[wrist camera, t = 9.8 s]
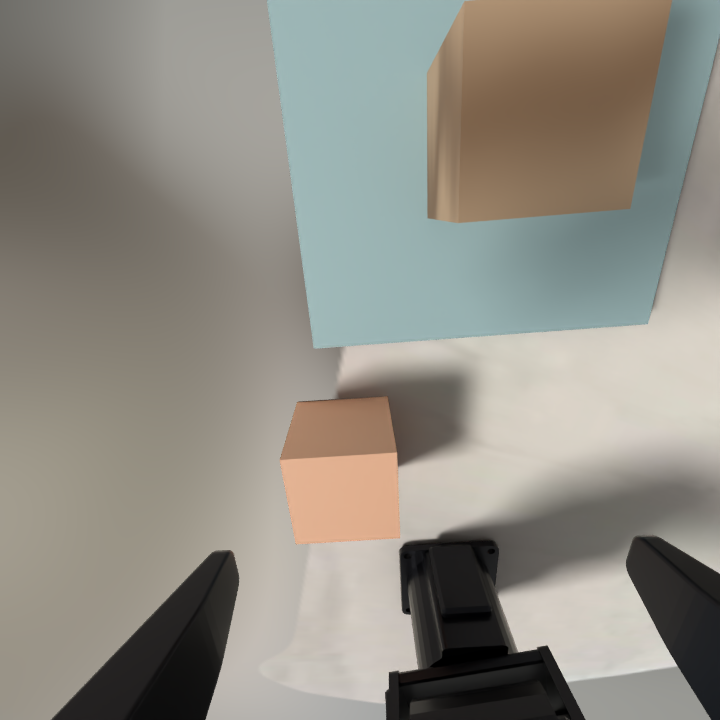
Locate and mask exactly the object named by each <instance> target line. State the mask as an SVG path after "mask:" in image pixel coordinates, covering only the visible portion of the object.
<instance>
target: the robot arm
mask: <svg viewBox="0 0 720 720" xmlns="http://www.w3.org/2000/svg"><path fill="white" fill-rule="evenodd" d="M498 554H499V549H498V546H497V544H496V543H495V542H494V541H476V542H459V543H443V544H427V545H410V546H403V547H401V549H400V550H399V557H400V579H401V601H402V611H403V613H404V614H409V615H410V614H411V619H412V626H413V634H414V641H415V649H416V656H417V664H418V670H412V671H406V672H400V673H399V671H393V672H389V689H388V690H387V691H386V692H385V699H386V720H585V718H584V716H583V714H582V712H581V710H580V708H579V706H578V705H577V702H576V700H575V698H574V697H573V694H572V693H571V691H570V689H569V687H568V685H567V683H566V681H565V679H564V677H563V675H562V673H561V671H560V669H559V667H558V665H557V663H556V661H555V659H554V657H553V655H552V653H551V651H550V649H549V647H548V646H541V647H537V649H536V650H530V651H524V652H519V653H518V650H517V648H516V645H515V642H514V639H513V637H512V634H511V631H510V628H509V626H508V623H507V620H506V617H505V615H504V612H503V609H502V606H501V604H500V601H499V598H498V595H497V593H496V590H495V582H496V573H497V563H498ZM626 568H627V571H628V574H629V576H630V578H631V580H632V582H633V584H634V586H635V588H636V590H637V591H638V593H639V595H640V597H641V599H642V601H643V603H644V605H645V607H646V609H647V611H648V613H649V615H650V616H651V618H652V620H653V622H654V624H655V626H656V628H657V630H658V632H659V634H660V636H661V638H662V639H663V641H664V643H665V645H666V647H667V649H668V650H669V652H670V654H671V655H672V657H673V659H674V660H675V662H676V664H677V665H678V667H679V669H680V670H681V672H682V673H683V675H684V677H685V678H686V680H687V682H688V683H689V685H690V686H691V688H692V689H693V691H694V693H695V694H696V696H697V698H698V699H699V701H700V702H701V704H702V705H703V707H704V709H705V710H706V712H707V714H708V715H709V717H710V718H711V720H720V574H719V573H718V572H716V571H714V570H713V569H711V568H709V567H708V566H706V565H704V564H703V563H701V562H699V561H698V560H696V559H694V558H693V557H691V556H689V555H688V554H686V553H685V552H683V551H681V550H680V549H678V548H676V547H675V546H673V545H671V544H670V543H668V542H666V541H665V540H663V539H661V538H659V537H657V536H654V535H643V536H636V537H634V538H633V540H632V543H631V546H630V550H629V553H628V556H627V559H626ZM238 586H239V573H238V569H237V565H236V561H235V557H234V554H233V552H232V551H231V550H218V551H214V552H212V553H211V554H210V555H209V556H208V557H207V558H206V559H205V560H204V561H203V562H202V563H201V564H200V565H199V567H197V569H196V570H195V571H194V572H193V573H192V574H191V575H190V576H189V577H188V578H187V579H186V580H185V581H184V582H183V583H182V584H181V585H180V586H179V587H178V589H176V590H175V591H174V592H173V593H172V594H171V595H170V597H169V598H168V599H167V600H166V601H165V602H164V603H163V604H162V605H161V606H160V607H159V608H158V609H157V610H156V611H155V612H154V613H153V614H152V615H151V616H150V617H149V618H148V619H147V620H146V621H145V622H144V624H143V625H142V626H141V627H140V628H139V629H138V630H137V631H136V632H135V633H134V634H133V635H132V636H131V637H130V638H129V639H128V640H127V641H126V642H125V643H124V644H123V645H122V646H121V648H119V650H118V651H117V652H116V653H115V654H114V655H113V656H112V657H111V658H110V659H109V660H108V661H107V662H106V663H105V664H104V665H103V666H102V667H101V668H100V669H99V670H98V672H97V673H95V674H94V676H93V677H92V678H91V679H90V680H89V681H88V682H87V683H86V684H85V685H84V686H83V687H82V688H81V689H80V690H79V691H78V692H77V693H76V694H75V695H74V696H73V697H72V698H71V699H70V700H69V701H68V702H67V704H66V705H65V706H64V707H63V708H62V709H61V710H60V711H59V712H58V713H57V714H56V715H55V716H54V717H53V718H52V720H205V719H206V716H207V713H208V710H209V706H210V703H211V700H212V696H213V693H214V690H215V687H216V684H217V680H218V677H219V673H220V670H221V666H222V661H223V658H224V653H225V648H226V644H227V639H228V634H229V629H230V625H231V620H232V615H233V610H234V606H235V601H236V596H237V591H238Z"/></svg>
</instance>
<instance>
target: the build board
mask: <svg viewBox="0 0 720 720" xmlns="http://www.w3.org/2000/svg"><path fill="white" fill-rule="evenodd" d="M464 1H471V0H267V4H268V11H269V19H270V26H271V34H272V41H273V49H274V55H275V63H276V70H277V77H278V86H279V93H280V100H281V108H282V115H283V122H284V130H285V138H286V144H287V153H288V160H289V167H290V175H291V182H292V189H293V197H294V204H295V212H296V219H297V226H298V234H299V241H300V249H301V256H302V264H303V271H304V279H305V286H306V293H307V301H308V309H309V315H310V323H311V331H312V338H313V345H314V348H328V347H341V346H355V345H369V344H382V343H396V342H410V341H423V340H437V339H451V338H464V337H478V336H492V335H505V334H519V333H532V332H546V331H560V330H573V329H587V328H601V327H614V326H628V325H642V324H648V321H649V317H650V313H651V309H652V305H653V301H654V297H655V293H656V289H657V285H658V281H659V277H660V273H661V269H662V265H663V261H664V257H665V253H666V249H667V245H668V241H669V237H670V233H671V229H672V225H673V221H674V217H675V213H676V209H677V205H678V201H679V197H680V193H681V189H682V185H683V181H684V177H685V173H686V169H687V165H688V161H689V157H690V153H691V149H692V145H693V141H694V137H695V133H696V129H697V125H698V121H699V117H700V113H701V109H702V105H703V101H704V97H705V93H706V89H707V85H708V81H709V77H710V73H711V69H712V65H713V61H714V57H715V53H716V49H717V45H718V41H719V37H720V0H672V4H671V9H670V14H669V19H668V24H667V29H666V34H665V39H664V44H663V49H662V54H661V59H660V64H659V69H658V74H657V79H656V83H655V88H654V93H653V98H652V103H651V108H650V113H649V118H648V123H647V128H646V133H645V138H644V143H643V148H642V153H641V158H640V163H639V168H638V173H637V178H636V183H635V188H634V193H633V198H632V203H631V208H630V209H623V210H611V211H599V212H587V213H575V214H563V215H551V216H539V217H527V218H515V219H503V220H491V221H479V222H467V223H454V222H447V221H441V220H435V219H428V218H427V72H428V70H429V68H430V66H431V64H432V62H433V60H434V58H435V56H436V55H437V53H438V51H439V49H440V47H441V45H442V43H443V41H444V39H445V37H446V35H447V33H448V32H449V30H450V28H451V26H452V24H453V22H454V20H455V18H456V16H457V14H458V12H459V11H460V9H461V7H462V5H463V3H464Z"/></svg>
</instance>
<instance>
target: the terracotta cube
mask: <svg viewBox="0 0 720 720" xmlns="http://www.w3.org/2000/svg"><path fill="white" fill-rule="evenodd" d="M280 464H281V469H282V475H283V480H284V485H285V490H286V495H287V500H288V506H289V511H290V516H291V521H292V526H293V531H294V536H295V542H296V544H309V543H326V542H343V541H360V540H377V539H394V538H400V522H399V494H398V465H397V449H396V443H395V437H394V431H393V425H392V420H391V414H390V408H389V402H388V396H386V397H371V398H356V399H340V400H335V399H329V400H314V401H299V402H297V404H296V408H295V411H294V414H293V418H292V421H291V424H290V427H289V431H288V434H287V437H286V441H285V444H284V447H283V451H282V454H281V457H280Z"/></svg>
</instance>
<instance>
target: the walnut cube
mask: <svg viewBox="0 0 720 720" xmlns="http://www.w3.org/2000/svg"><path fill="white" fill-rule="evenodd" d="M671 4H672V0H471V1H464V3H463V5H462V7H461V9H460V11H459V12H458V14H457V16H456V18H455V20H454V22H453V24H452V26H451V28H450V30H449V32H448V33H447V35H446V37H445V39H444V41H443V43H442V45H441V47H440V49H439V51H438V53H437V55H436V56H435V58H434V60H433V62H432V64H431V66H430V68H429V70H428V72H427V218H428V219H435V220H441V221H447V222H454V223H467V222H479V221H491V220H503V219H515V218H527V217H539V216H551V215H563V214H575V213H587V212H599V211H611V210H623V209H630V208H631V203H632V198H633V193H634V188H635V183H636V178H637V173H638V168H639V163H640V158H641V153H642V148H643V143H644V138H645V133H646V128H647V123H648V118H649V113H650V108H651V103H652V98H653V93H654V88H655V83H656V79H657V74H658V69H659V64H660V59H661V54H662V49H663V44H664V39H665V34H666V29H667V24H668V19H669V14H670V9H671Z"/></svg>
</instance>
